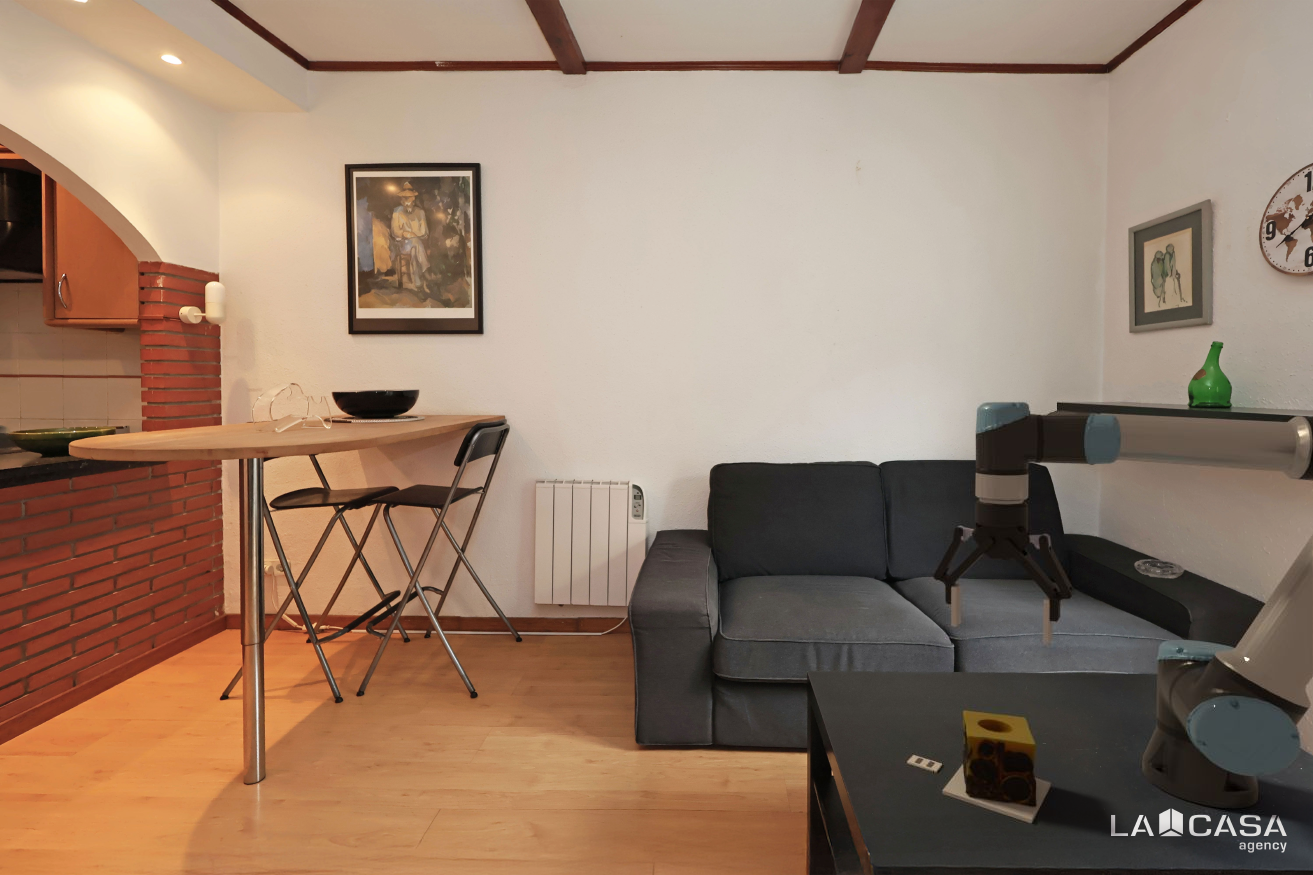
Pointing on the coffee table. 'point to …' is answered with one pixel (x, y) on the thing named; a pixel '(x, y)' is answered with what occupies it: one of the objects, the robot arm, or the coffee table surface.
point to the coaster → (1012, 809)
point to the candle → (999, 758)
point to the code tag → (924, 763)
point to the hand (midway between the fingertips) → (1000, 632)
